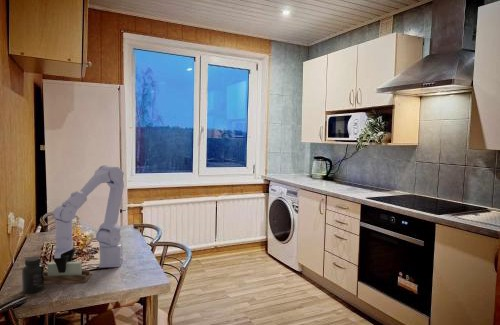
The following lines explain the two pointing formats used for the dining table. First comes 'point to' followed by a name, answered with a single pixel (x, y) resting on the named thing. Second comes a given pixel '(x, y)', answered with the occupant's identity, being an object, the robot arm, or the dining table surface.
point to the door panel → (71, 269)
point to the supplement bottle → (32, 276)
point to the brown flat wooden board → (67, 278)
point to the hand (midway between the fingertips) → (64, 269)
